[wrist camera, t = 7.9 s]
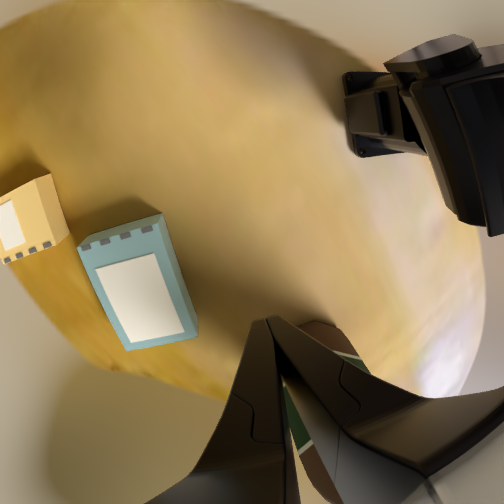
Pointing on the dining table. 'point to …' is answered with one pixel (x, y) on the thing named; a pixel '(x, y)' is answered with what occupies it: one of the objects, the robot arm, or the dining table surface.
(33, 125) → the dining table surface
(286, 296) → the dining table surface
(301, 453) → the beer bottle
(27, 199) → the stub
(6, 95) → the dining table surface
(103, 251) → the pale blue pin-sided card
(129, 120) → the dining table surface
